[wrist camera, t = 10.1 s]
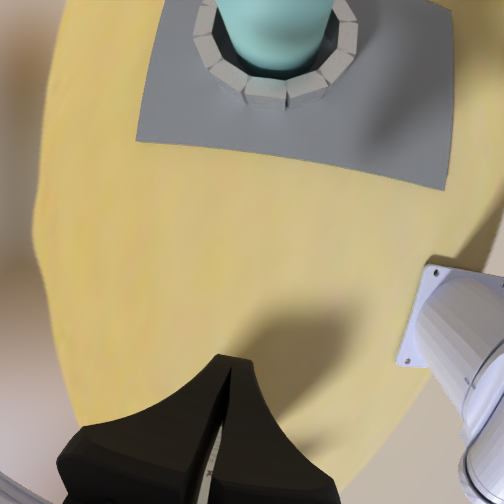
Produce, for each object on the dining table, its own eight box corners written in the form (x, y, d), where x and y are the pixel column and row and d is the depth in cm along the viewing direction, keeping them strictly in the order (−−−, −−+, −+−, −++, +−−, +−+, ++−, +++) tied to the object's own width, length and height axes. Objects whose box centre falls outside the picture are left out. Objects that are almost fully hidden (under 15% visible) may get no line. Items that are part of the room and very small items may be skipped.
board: (445, 15, 16) (450, 10, 15) (437, 190, 19) (444, 190, 18) (180, -28, 16) (176, -35, 16) (141, 142, 20) (135, 141, 19)
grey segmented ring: (349, 5, 16) (359, -19, 12) (339, 121, 18) (350, 111, 14) (219, -10, 16) (210, -35, 13) (196, 102, 18) (181, 89, 15)
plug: (321, 21, 16) (340, -52, 8) (312, 88, 17) (333, 35, 10) (242, 11, 16) (222, -63, 9) (230, 78, 18) (199, 21, 10)
